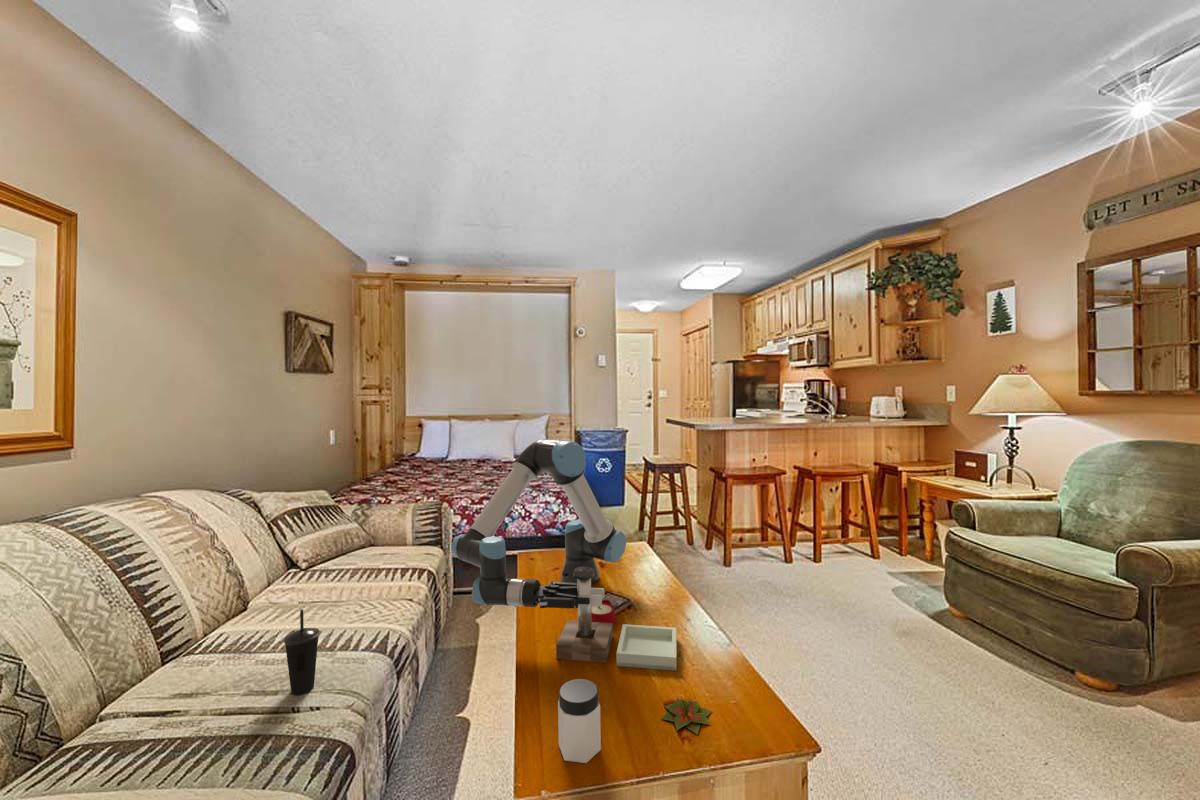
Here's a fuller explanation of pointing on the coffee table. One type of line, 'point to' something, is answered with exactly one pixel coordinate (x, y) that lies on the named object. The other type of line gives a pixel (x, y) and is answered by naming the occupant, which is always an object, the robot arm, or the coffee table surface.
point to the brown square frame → (585, 643)
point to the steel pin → (584, 587)
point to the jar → (579, 720)
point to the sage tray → (647, 647)
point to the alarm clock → (604, 613)
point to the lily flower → (686, 714)
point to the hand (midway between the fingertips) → (602, 596)
